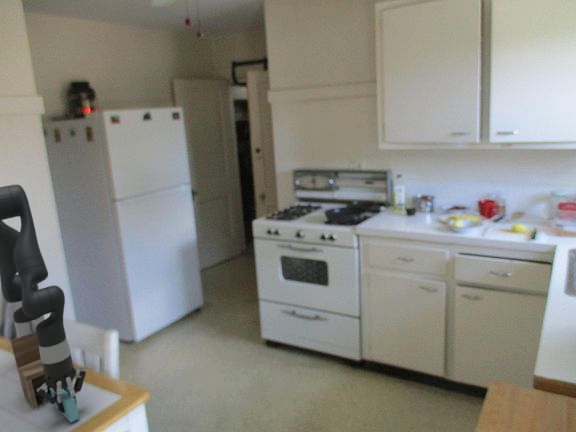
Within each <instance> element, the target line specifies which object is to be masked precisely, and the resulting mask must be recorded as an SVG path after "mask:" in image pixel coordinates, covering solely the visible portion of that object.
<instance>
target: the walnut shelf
mask: <svg viewBox="0 0 576 432" xmlns="http://www.w3.org/2000/svg"><path fill="white" fill-rule="evenodd" d="M10 345H11V349H12V353H13V357H14V360H15V364H16V368H17V373H18V377H19V382H20V384H21V387H22V392H23V396H24V399H25V400H26V402H27V403H28V405H30V407H31V408H32V409H33V410H36V409H38V408H39V406H38V401H37V398H38V399H39V400H40V402H41V403H42V404H43V405H45V404H47V403H48V401H47V400H46V399H45V398H44V397H42V396H41V395H40V394H39V393H38V392H37V391H36V389H37V388H38V387H41V386H42V385H43V384H44V380H45V374H44V370H43V366H42V361H41V357H40V352H39V344H38V340H37V335H36V331H35V332H32V333H30V334H27V335H24V336H21V337H19V338H18V337H17V338H16V337H15V338H13V339H11V340H10ZM72 385H73V386H74V384H73V383H72ZM47 390H50V387H48V386H47ZM65 390H67V388H65ZM36 397H37V398H36Z"/></svg>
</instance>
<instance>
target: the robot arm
mask: <svg viewBox="0 0 576 432" xmlns="http://www.w3.org/2000/svg"><path fill="white" fill-rule="evenodd" d="M16 217H19V218H20V230H17V229H15V228H14V227H11V226H10V225H8V224H7V223H5V222H4V220H8V219H12V218H16ZM38 242H39V241H38V236H37V232H36V226H35V223H34V218H33V213H32V210H31V207H30V202H29V199H28V196H27V193H26V191H25V189H24V187H22V186H21V185H20V184H11V185H4V186H0V289H1V293H2V296H3V299H4V300H5V301H6V302H7V303H9V304H12V303H13V304H14V303H18V302H21V306H20V307H18V309H16V310H15V311H14V312H13V314H12V316H13V321H14V325H15V326H14V327H15V329H16V334H17V338H19V337H21V336H24V335H27V334H30V333H32V332H35V331H36V335H37V340H38V344H39V352H40V357H41V361H42V366H43V370H44V374H45V380H44V384H43V385H42V386H41V387H38V388H37V389H36V391H37V392H38V393H39V394H40V395H41V396H42V397H44V398H45V399H46V401H47V402H48V403H50V404H51V405H54V403H57V407H58V409H57V411H58V412H60V413H61V412H62V413H65V410H64V406H63V402H62V389H64V390H65V389H66V388H67V389H66V392H68V393H69V394H70V395H71V396H72V397H73V398H74V399H75V401H76V405H77V406H78V404H77V396H76V395H77V393H80V392H81V391H82V388H83V384H84V381H85V378H86V374H87V372H86V371H85V370H84V369H83V368H79V369H76V368H75V367H74V363H73V358H72V353H71V348H70V344H69V342H68V339H67V335H66V331H65V326H64V312H65V311H64V310H65V304H66V298H65V293H64V290H63V289H62V288H61V287H60V286H59V285H50V286H47V287H46V286H45V287H42V288H40V289H39V284H41V283H42V282H43V281H45V280H47V279H48V277H49V271H48V268H47V266H46V262H45V259H44V258H43V254H42V251H41V249H40V245H39V243H38ZM47 314H49V316H47V318H45V315H47ZM75 377H76V378H75ZM74 379H75V381H74ZM73 382H74V384H73ZM72 384H73V385H72ZM47 386H48V387H50V388H52V389H53V391H54V397H52V396H51V394H49V393H48V390H49V389H48V390H47ZM62 413H61V414H62Z"/></svg>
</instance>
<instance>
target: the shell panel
mask: <svg viewBox="0 0 576 432" xmlns="http://www.w3.org/2000/svg"><path fill="white" fill-rule="evenodd" d="M49 391H50V396H51V397H54V391H53V389H52V388H50V389H49ZM76 401H77V400H76ZM76 401H75V399H74V398H73V397H72V396H71V395H70V394H69V393H68V391H67V390H66V389H65V388H64V389H62V402H63V406H64V410H65V413H62V412H60V414H61V415H63V416H64V417H65V418H66V419H67V420H68V421H69V422H70V423H73V422H75V421H76V420H79V419H80V414H79V409H78V404H77V405H76ZM53 407H54V408H56V409H57V410H58V407H57V403H54V404H53Z"/></svg>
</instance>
